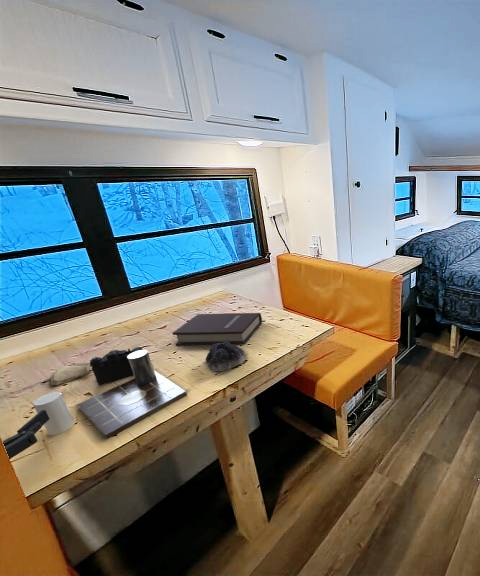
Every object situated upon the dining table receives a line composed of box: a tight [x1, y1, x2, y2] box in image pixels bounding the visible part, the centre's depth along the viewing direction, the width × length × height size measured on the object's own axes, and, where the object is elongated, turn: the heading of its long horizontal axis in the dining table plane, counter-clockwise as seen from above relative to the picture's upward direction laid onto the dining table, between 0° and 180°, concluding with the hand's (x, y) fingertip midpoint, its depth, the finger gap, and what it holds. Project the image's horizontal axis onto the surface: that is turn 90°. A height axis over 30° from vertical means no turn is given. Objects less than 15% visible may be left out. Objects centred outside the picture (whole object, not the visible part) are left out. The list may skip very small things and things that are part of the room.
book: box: [172, 312, 263, 347], centre depth 132 cm, size 28×20×6 cm
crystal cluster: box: [205, 341, 246, 372], centre depth 110 cm, size 13×14×10 cm
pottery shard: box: [50, 362, 91, 386], centre depth 106 cm, size 11×4×10 cm
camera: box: [89, 346, 144, 386], centre depth 105 cm, size 14×11×10 cm
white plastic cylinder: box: [32, 391, 76, 436], centre depth 82 cm, size 5×5×10 cm
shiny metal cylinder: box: [127, 349, 156, 385], centre depth 98 cm, size 5×5×10 cm
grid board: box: [76, 369, 188, 440], centre depth 92 cm, size 22×20×2 cm
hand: (10, 419), depth 70 cm, fingers open, 13 cm apart
